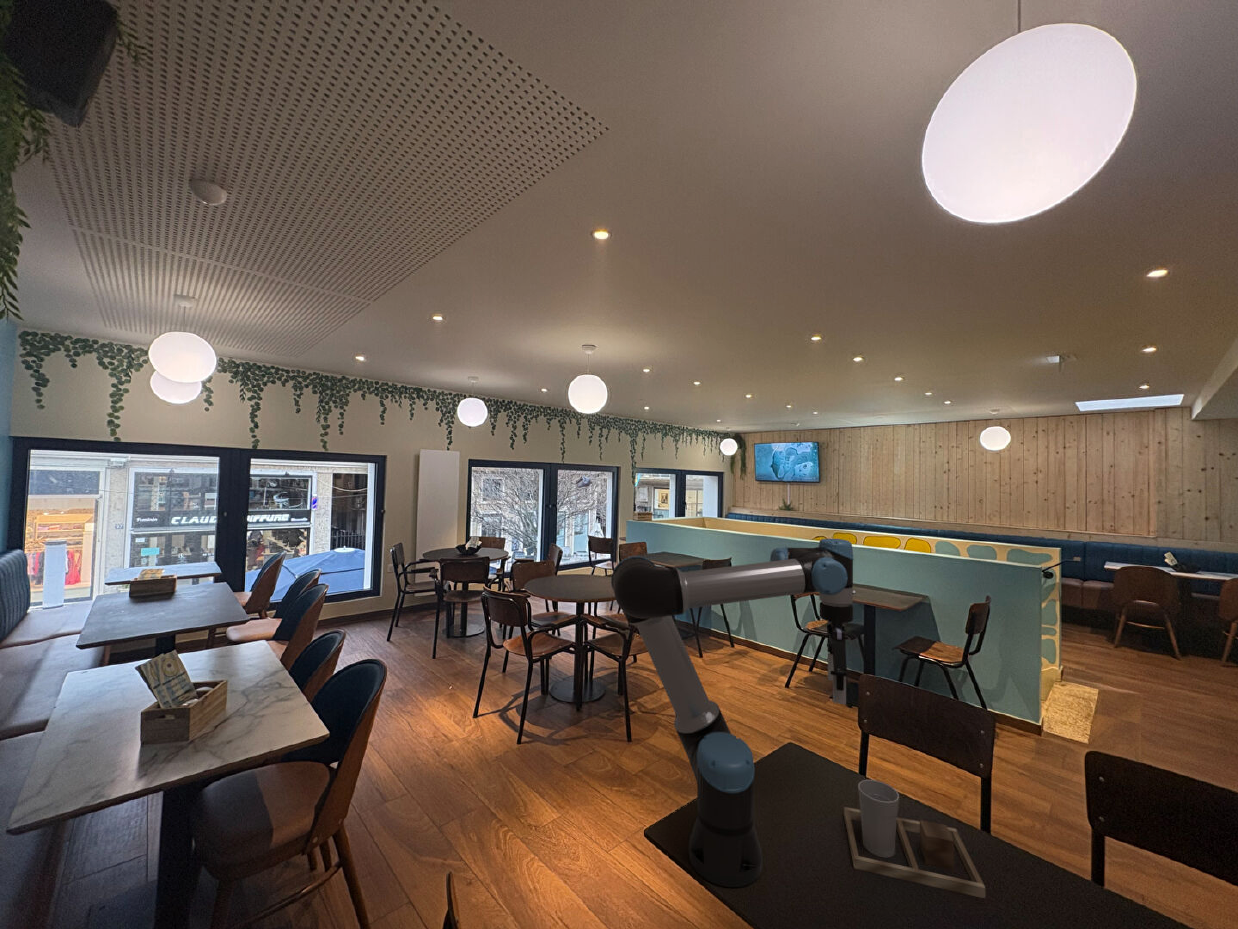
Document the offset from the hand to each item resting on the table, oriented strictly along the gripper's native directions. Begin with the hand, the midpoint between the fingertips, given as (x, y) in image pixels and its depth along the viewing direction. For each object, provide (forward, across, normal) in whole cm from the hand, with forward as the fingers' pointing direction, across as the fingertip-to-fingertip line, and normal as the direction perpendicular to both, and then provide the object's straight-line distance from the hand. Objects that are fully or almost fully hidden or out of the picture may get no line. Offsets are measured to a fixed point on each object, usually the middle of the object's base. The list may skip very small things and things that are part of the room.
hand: (836, 691), depth 121 cm
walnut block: (+29, -10, -18) cm, 36 cm away
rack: (+29, -10, -13) cm, 33 cm away
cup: (+29, -10, -8) cm, 31 cm away
